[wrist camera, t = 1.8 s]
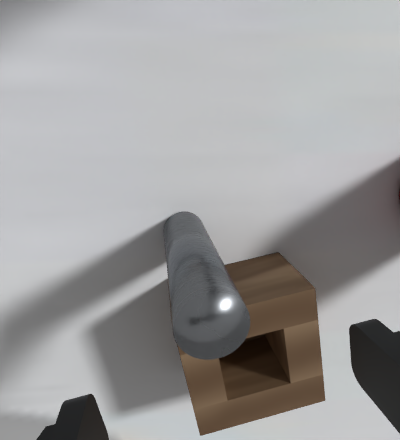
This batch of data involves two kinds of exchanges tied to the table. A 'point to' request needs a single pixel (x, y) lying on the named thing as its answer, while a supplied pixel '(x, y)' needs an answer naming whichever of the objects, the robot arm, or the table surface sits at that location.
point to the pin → (201, 292)
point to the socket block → (262, 351)
